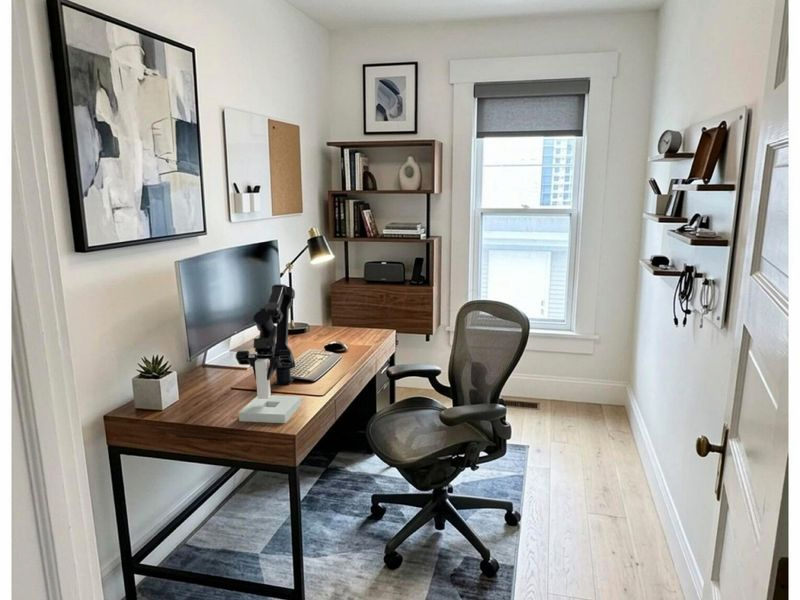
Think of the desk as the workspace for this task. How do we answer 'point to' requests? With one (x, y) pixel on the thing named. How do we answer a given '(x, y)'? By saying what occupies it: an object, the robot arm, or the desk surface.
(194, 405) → the desk surface
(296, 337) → the desk surface
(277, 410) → the socket
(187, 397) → the desk surface
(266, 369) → the plug
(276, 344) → the robot arm
